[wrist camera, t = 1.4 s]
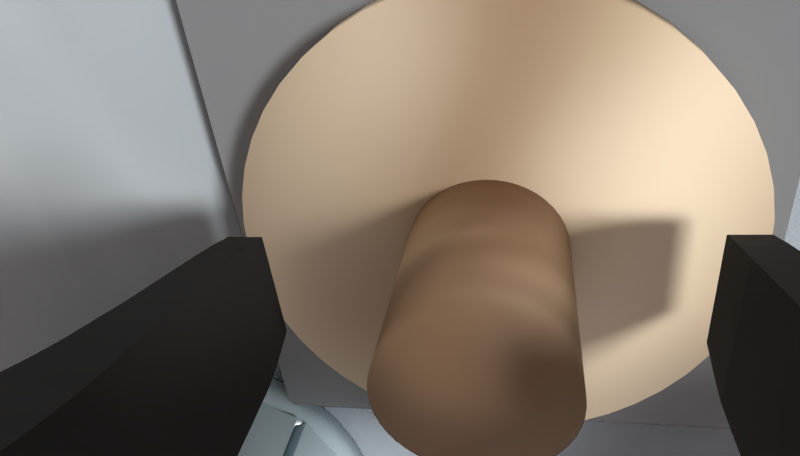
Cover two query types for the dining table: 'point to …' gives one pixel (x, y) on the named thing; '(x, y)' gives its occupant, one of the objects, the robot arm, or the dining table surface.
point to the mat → (332, 3)
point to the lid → (503, 212)
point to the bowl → (295, 429)
